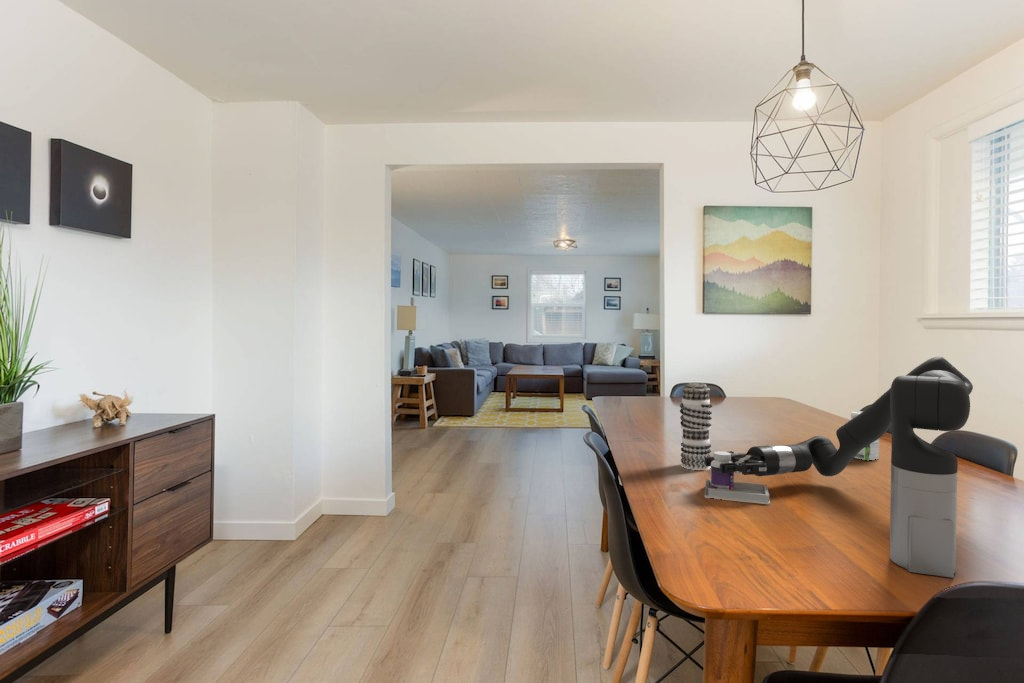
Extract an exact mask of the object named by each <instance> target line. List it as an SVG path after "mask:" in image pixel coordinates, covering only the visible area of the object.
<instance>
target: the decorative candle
mask: <svg viewBox="0 0 1024 683" xmlns="http://www.w3.org/2000/svg"><path fill="white" fill-rule="evenodd" d="M681 390H682V397H681V403H680V404H679V407H680V410H679V412H680V414H681V415H680V420H681V421H680V423H679V424H680V428H681V429H682V436H681V443H680V445H681V448H680V451H681V453H680V458H681V459H680V462H681V464H680V467H681V466H682V467H684V468H687V469H686V470H688V469H692V470H691V471H694V470H706V471H709V470H711V469H710V468H711V466H706V465H705V458H706V457H712V456H711V454H710V453H711V452H712V451H711V449H710V448H711V447H712V444H710V443H711V438H710V430H712V428H711V426H712V424H711V423H710V422H709V421H711V420H712V419H713V417H712V416H711V415H712V411H711V410H710V409H711V408H712V407H713V404H711V402H710V401H711V400H710V390H711V388H709V387H708V386H707V384H706V383H703V382H687V383H686V384H684V386H683V387H682V388H681ZM682 467H681V468H682ZM684 468H683V469H684Z"/></svg>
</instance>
